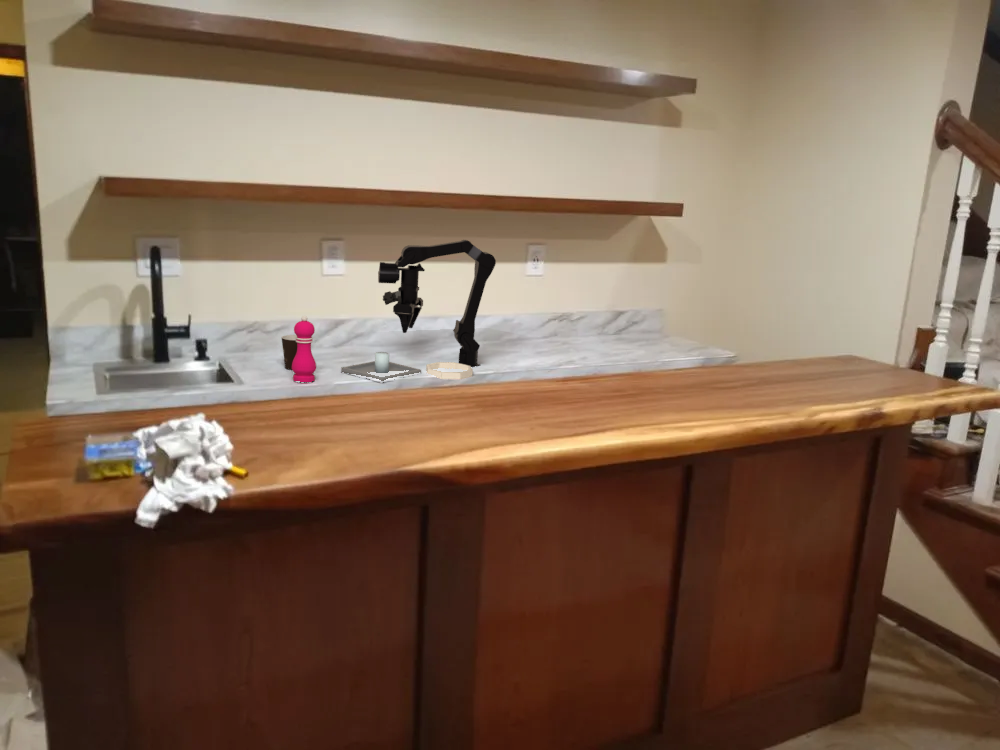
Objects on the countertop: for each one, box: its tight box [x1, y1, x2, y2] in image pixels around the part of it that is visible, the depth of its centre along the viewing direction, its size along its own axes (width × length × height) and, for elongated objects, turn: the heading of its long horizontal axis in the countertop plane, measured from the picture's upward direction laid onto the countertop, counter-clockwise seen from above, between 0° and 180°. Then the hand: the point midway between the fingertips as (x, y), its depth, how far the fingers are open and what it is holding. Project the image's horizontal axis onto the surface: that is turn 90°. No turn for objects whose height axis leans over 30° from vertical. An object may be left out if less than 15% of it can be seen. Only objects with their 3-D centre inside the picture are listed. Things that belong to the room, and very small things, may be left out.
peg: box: [374, 351, 390, 373], centre depth 254 cm, size 4×4×6 cm
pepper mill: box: [291, 315, 317, 383], centre depth 238 cm, size 7×7×20 cm
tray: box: [340, 360, 422, 381], centre depth 255 cm, size 18×18×2 cm
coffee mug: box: [281, 334, 297, 371], centre depth 255 cm, size 12×9×10 cm
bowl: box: [425, 361, 474, 380], centre depth 259 cm, size 15×15×2 cm
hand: (407, 330), depth 266 cm, fingers open, 9 cm apart
